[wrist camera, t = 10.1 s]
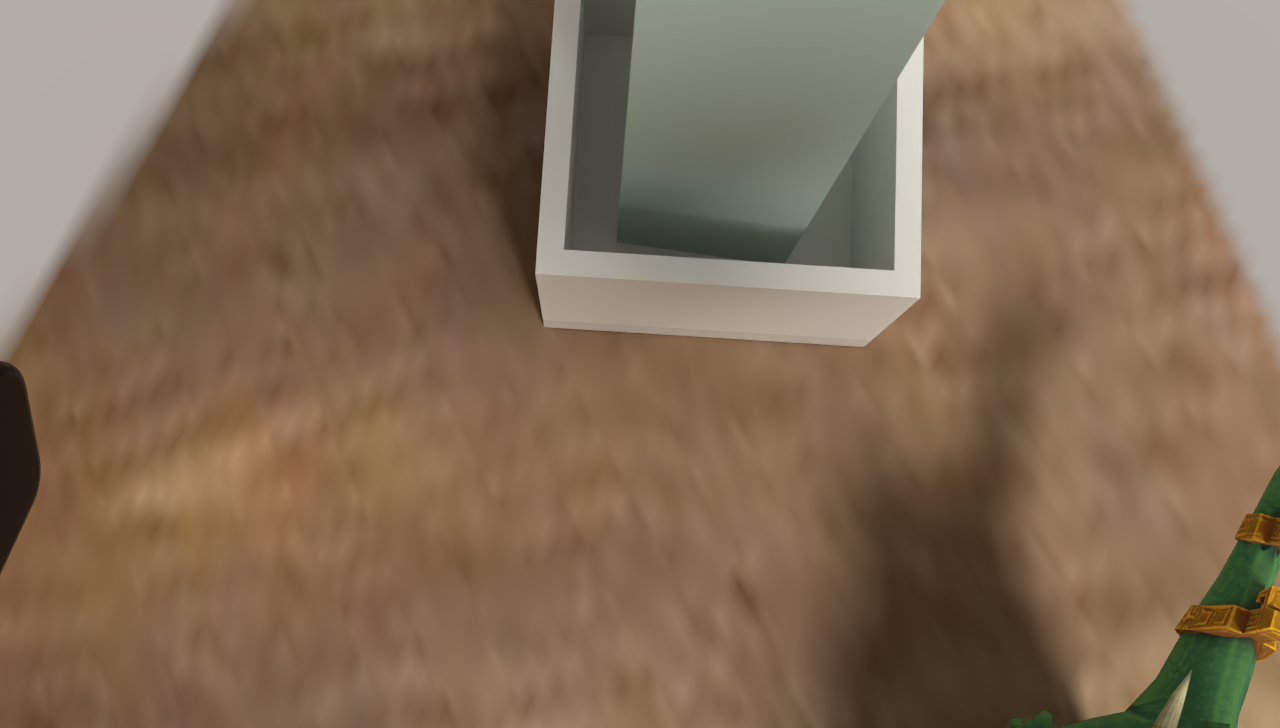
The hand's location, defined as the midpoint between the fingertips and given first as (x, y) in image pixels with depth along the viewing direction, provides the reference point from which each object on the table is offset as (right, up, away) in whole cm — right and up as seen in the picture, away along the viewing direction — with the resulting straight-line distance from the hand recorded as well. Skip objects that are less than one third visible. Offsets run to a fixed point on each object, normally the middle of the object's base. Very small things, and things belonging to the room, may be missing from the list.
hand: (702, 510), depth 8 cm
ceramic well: (+1, +4, +14) cm, 15 cm away
